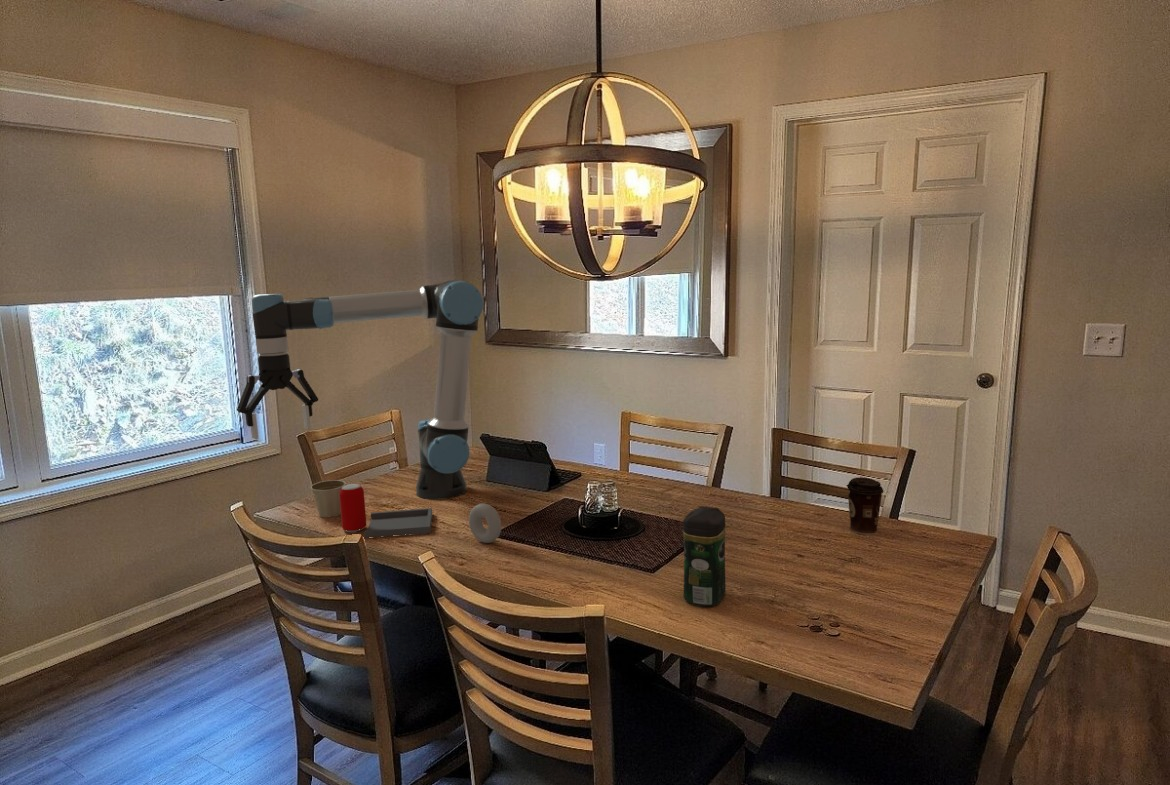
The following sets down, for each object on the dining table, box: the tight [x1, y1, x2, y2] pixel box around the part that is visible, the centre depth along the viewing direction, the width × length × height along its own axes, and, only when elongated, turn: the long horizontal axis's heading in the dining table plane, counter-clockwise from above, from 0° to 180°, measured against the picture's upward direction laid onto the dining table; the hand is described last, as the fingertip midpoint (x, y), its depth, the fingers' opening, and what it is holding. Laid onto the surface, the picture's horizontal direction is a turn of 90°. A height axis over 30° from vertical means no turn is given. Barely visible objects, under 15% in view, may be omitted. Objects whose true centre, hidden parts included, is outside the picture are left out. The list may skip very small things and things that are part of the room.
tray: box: [363, 507, 433, 540], centre depth 194 cm, size 16×15×2 cm
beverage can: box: [339, 483, 367, 534], centre depth 191 cm, size 6×6×12 cm
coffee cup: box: [846, 477, 884, 536], centre depth 182 cm, size 9×8×13 cm
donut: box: [468, 503, 502, 544], centre depth 180 cm, size 10×4×10 cm, turn 54°
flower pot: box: [309, 479, 347, 519], centre depth 204 cm, size 9×9×9 cm
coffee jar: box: [682, 505, 727, 607], centre depth 147 cm, size 10×8×19 cm
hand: (282, 433), depth 192 cm, fingers open, 13 cm apart
